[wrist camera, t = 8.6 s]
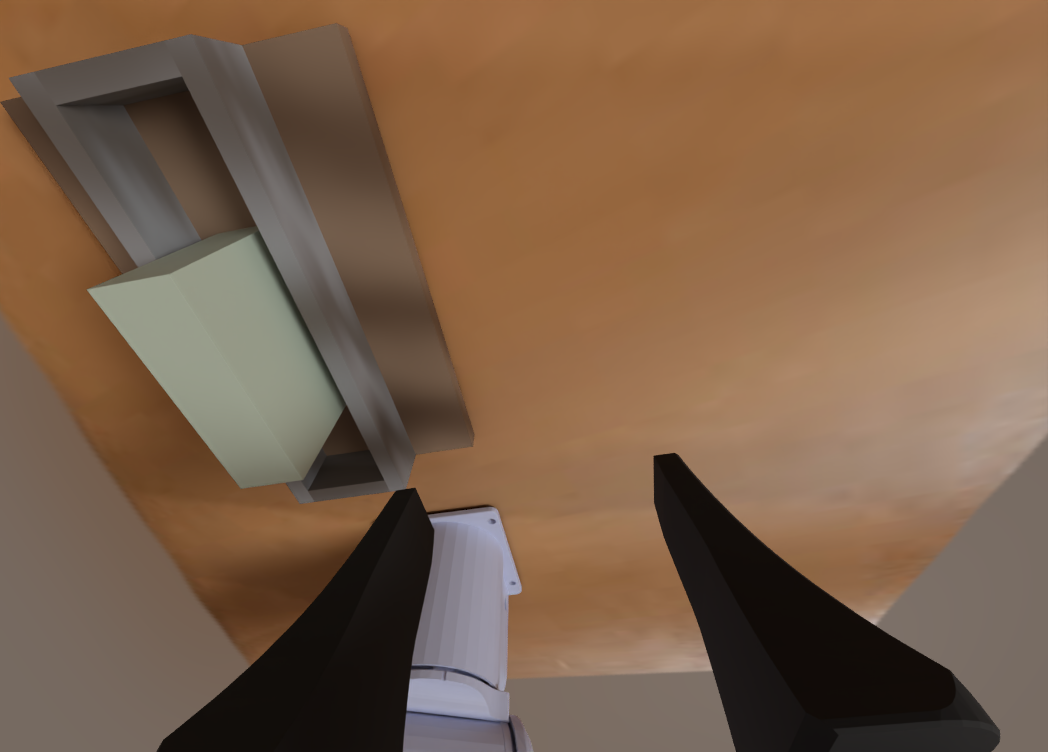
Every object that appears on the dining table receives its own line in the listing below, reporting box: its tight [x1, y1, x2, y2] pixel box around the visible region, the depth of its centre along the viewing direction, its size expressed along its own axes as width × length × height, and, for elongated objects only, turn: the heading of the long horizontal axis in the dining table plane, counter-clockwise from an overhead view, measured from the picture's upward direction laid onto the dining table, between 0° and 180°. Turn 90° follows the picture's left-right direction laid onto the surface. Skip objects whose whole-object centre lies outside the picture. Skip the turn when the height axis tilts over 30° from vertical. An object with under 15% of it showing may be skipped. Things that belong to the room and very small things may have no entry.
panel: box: [87, 226, 347, 489], centre depth 16 cm, size 8×2×6 cm, turn 10°
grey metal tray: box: [0, 23, 474, 504], centre depth 18 cm, size 18×12×4 cm, turn 10°
